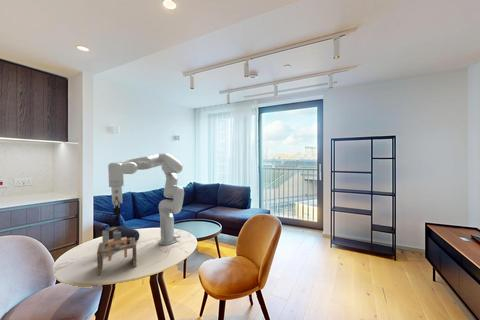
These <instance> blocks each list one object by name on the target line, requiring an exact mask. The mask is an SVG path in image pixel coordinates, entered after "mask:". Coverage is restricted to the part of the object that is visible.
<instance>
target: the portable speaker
mask: <svg viewBox="0 0 480 320" xmlns="http://www.w3.org/2000/svg"><path fill="white" fill-rule="evenodd" d="M117 227H120V232H121V238H123V237H127V238H133V237H135V241H136V243H137V242H138V240H139V239H140V232H139V230H137V229H134V228H132V227H127V226H121V225H120V226H117ZM127 244H130V242H127Z"/></svg>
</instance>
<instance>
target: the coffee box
mask: <svg viewBox="0 0 480 320" xmlns="http://www.w3.org/2000/svg"><path fill="white" fill-rule="evenodd" d="M101 231H102V233H101V234H102V235H101V236H102V242H101V243H103V242H108V240H111V239H114V232H120V227H118V226H111V227H108V228H106V229H102V230H101ZM112 247H115V245H111V248H112ZM106 248H108V246H105V249H106ZM117 252H119V251H115V252H112V255H114V254H116V253H117ZM103 256H108V253H104V254H103Z"/></svg>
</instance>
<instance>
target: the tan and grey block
mask: <svg viewBox="0 0 480 320" xmlns="http://www.w3.org/2000/svg"><path fill="white" fill-rule="evenodd" d="M119 243H121V244H123V245H128V243H127V237H123V238H121V232H114V239H111V240H108V248H111V245H114V244H119ZM123 253H124V254H123V256H124V258H125V259H126V258H128V249H126V250H123ZM112 255H113V254H112V252H110V253H108V255H107V256H108V259H107V260H108V262H112V260H113V259H112Z"/></svg>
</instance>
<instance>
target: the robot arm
mask: <svg viewBox="0 0 480 320" xmlns="http://www.w3.org/2000/svg"><path fill="white" fill-rule="evenodd" d="M107 167H108V168H107V169H108V188H110V189H111V190H110V191H111V202H112V205H113V216H119V215H121V204H123V187H124V186H125V185H124V175H133V174H136V172H137V171H139V170H140V171H141V170H142V171H143V170H150V169H153V168H157V167H161V171H163V173H164V175H165V184H164V189H163V196H164V197H165V198H168V199H162V200H161V201H159V204H158V211H159V218H160V219H159V221H160V222H159V223H160V228H159V229H160V238H159V240H158V244H159V245H161V246H169V245H173V244H175V243H176V242H177V239H180V238H181V234H175V222H174V221H175V219H174V218H175V217H174V215H177V214H179V213H180V212H181V211H182V207H183V204H184V197H185V190H184V188H183V187H182V186H181V185H178V179H179V178H178V175H177V174H180V173H181V172H182V171H183V165H182V163H181V162H180V161H179V160H178V159H177V158H175V156H173V155H172V154H170V153H156V154H151V155H147V156H143V157H138V158H131V159H125V160H122V161H119V162H110V163H108V165H107Z"/></svg>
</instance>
